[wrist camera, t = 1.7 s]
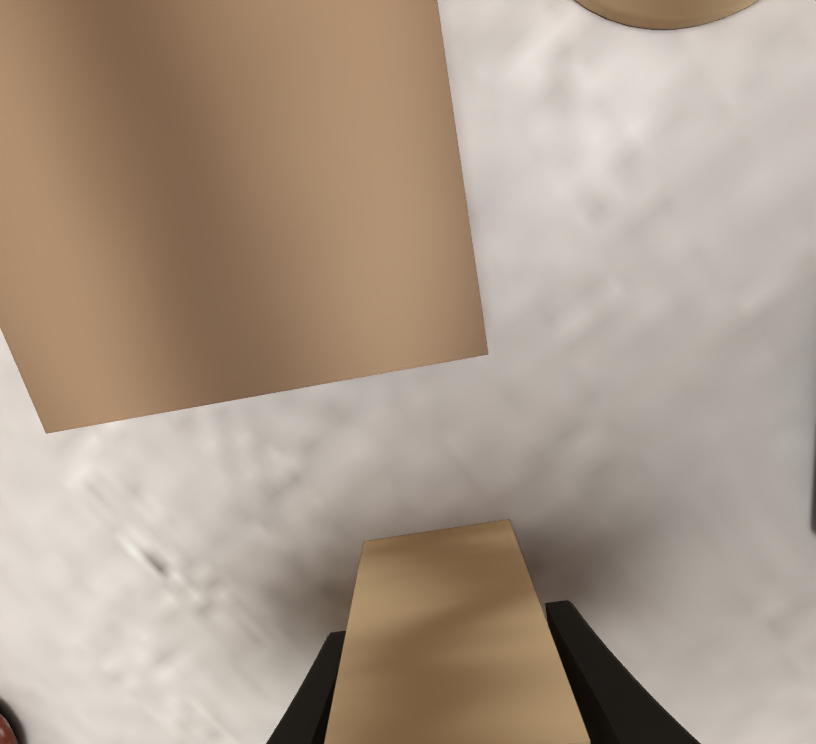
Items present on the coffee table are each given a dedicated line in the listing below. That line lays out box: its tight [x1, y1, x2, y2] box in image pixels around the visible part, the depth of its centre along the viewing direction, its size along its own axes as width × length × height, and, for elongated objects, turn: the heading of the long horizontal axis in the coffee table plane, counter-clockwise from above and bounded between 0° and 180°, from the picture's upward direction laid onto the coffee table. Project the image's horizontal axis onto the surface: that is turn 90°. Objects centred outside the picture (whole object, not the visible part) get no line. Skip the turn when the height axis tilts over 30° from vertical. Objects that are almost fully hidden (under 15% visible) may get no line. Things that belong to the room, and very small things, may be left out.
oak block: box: [324, 519, 591, 744], centre depth 10 cm, size 4×4×6 cm
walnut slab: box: [0, 0, 488, 434], centre depth 9 cm, size 10×10×3 cm
